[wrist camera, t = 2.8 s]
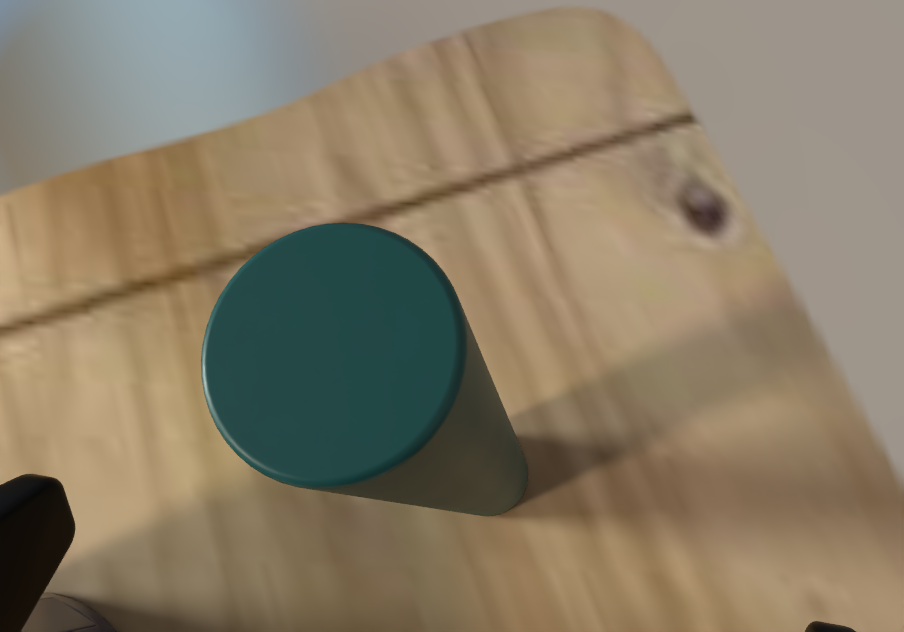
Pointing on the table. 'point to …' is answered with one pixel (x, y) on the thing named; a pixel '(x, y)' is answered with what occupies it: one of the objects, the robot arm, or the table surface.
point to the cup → (64, 616)
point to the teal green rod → (359, 375)
